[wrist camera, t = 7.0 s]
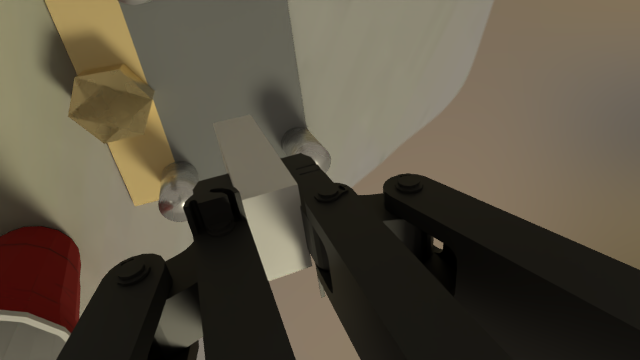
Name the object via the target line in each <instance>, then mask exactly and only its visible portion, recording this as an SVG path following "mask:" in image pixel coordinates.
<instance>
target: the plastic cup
mask: <svg viewBox="0 0 640 360" xmlns="http://www.w3.org/2000/svg"><path fill="white" fill-rule="evenodd" d="M80 269H81V261H80V254H79V249H78V247H77V246H76V244H75V243H74V242H73V240H72V239H71V238H70V237H68V236H66V235H65V234H63V233H62V232H60V231H58V230H55V229H51V228H47V227H42V226H34V227H22V228H19V229H16V230H13V231H10V232H8V233H7V234H5V235H2V236H1V237H0V360H56V359H57V357H58V355H59V354H60V352H61V350H62V348H63V347H64V345H65V343H66V341H67V340H68V338H69V336H70V335H71V333H72V331H73V329H74V328H75V326H76V324H77V322H78V321H79V309H80Z"/></svg>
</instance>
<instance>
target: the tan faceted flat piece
mask: <svg viewBox="0 0 640 360" xmlns="http://www.w3.org/2000/svg"><path fill="white" fill-rule="evenodd" d="M154 92H155V91H154V90H153V89H152V88H151V87H150V86H149V85H148V84H146V83H145V82H144V81H143V80H142V79H141V78H140V77H139V76H138V75H137V74H136V73H135V72H133V71H132V70H131V69H130V68H129V67H128V66H127V65H126V64H125V63H122V64H116V65H110V66H105V67H99V68H93V69H88V70H83V71H82V72H81V73H80V74H78V75H77V76H76V77H75V78H74V84H73V90H72V96H71V102H70V109H69V115H68V116H69V117H70V118H71V119H73V120H74V121H75V122H76V123H78V124H79V125H80V126H82V127H83V128H84V129H86V130H87V131H88V132H90V133H91V134H92V135H94V136H95V137H96V138H98V139H99V140H100V141H102V142H103V143H108V142H113V141H117V140H122V139H127V138H131V137H136V136H140V135H144V133H145V129H146V125H147V121H148V117H149V113H150V109H151V104H152V100H153V96H154Z"/></svg>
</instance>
